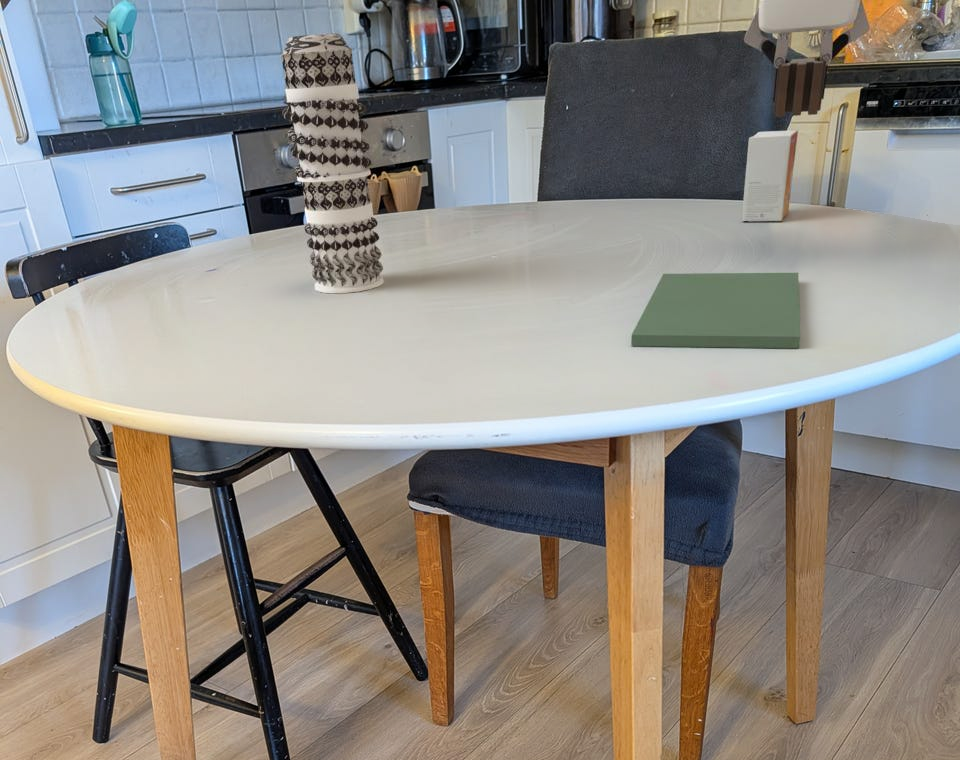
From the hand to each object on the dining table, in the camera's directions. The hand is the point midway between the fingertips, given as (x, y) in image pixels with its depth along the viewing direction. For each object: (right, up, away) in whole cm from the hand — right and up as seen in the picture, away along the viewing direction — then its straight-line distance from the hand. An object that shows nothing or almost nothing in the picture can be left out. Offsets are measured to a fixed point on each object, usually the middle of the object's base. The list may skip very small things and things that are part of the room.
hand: (797, 107), depth 98 cm
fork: (0, 0, +1) cm, 1 cm away
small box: (+5, 0, +27) cm, 28 cm away
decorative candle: (-52, -17, +8) cm, 55 cm away
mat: (-12, -28, -14) cm, 34 cm away
